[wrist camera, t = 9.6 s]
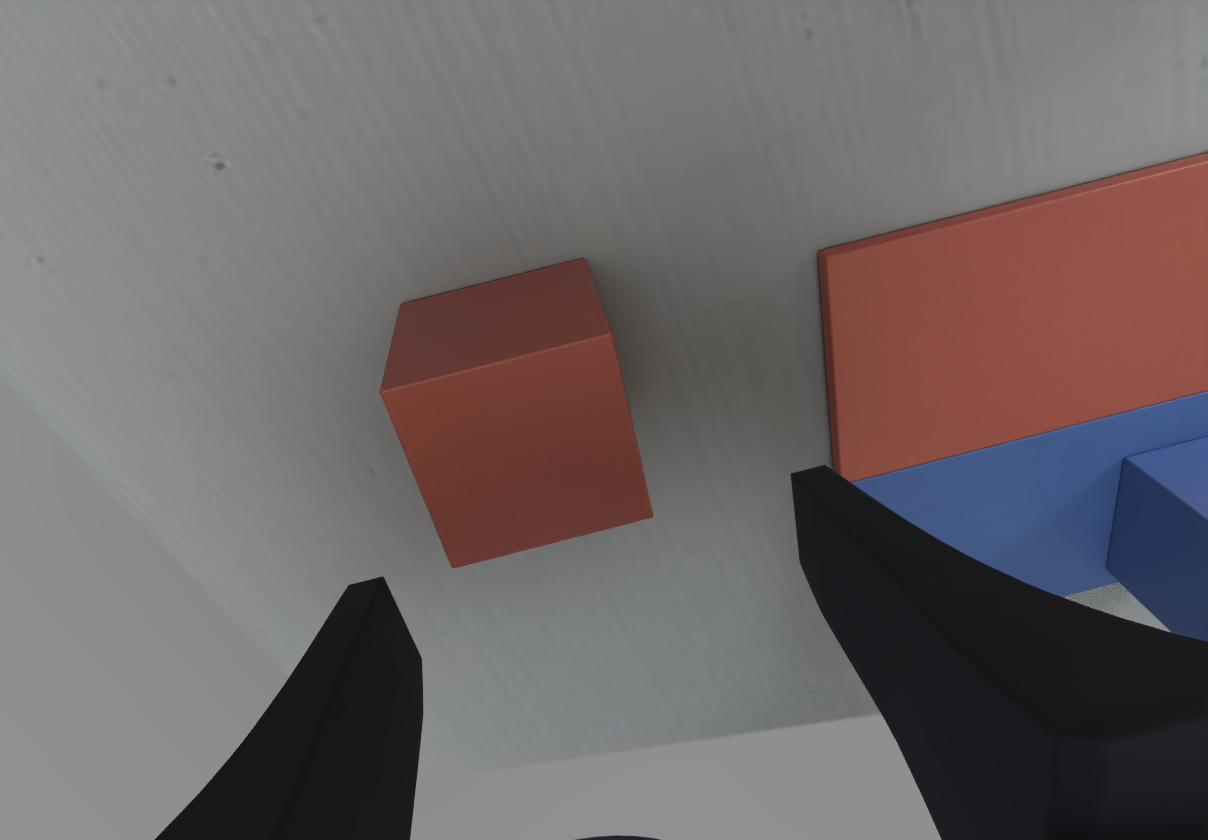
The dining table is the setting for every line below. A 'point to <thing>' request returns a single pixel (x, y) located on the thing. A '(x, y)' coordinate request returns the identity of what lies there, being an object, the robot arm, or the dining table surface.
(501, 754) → the dining table surface
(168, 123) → the dining table surface
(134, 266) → the dining table surface
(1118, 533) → the blue block
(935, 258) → the board
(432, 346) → the red block
